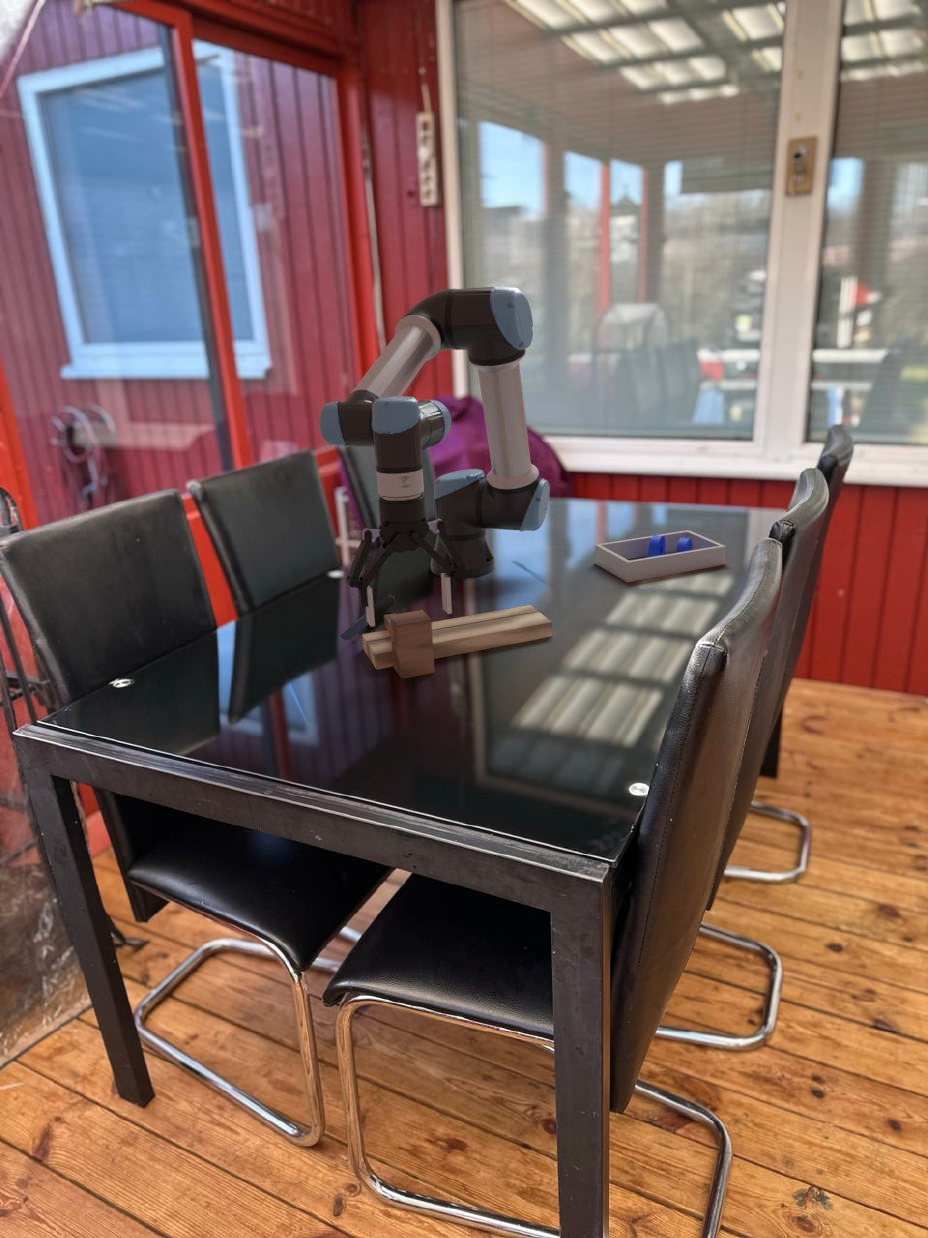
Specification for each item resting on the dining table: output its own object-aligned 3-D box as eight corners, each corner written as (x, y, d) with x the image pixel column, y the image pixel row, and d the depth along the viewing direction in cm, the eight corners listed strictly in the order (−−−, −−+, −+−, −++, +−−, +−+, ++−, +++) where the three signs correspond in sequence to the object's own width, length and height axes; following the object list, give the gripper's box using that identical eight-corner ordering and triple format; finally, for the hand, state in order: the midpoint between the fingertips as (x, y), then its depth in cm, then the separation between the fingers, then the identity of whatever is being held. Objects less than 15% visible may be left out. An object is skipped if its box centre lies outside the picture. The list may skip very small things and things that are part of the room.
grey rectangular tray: (594, 563, 206) (594, 544, 204) (687, 548, 213) (688, 530, 212) (627, 582, 193) (627, 562, 191) (724, 565, 200) (726, 546, 199)
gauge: (376, 642, 168) (371, 593, 164) (406, 637, 170) (402, 588, 166) (401, 678, 152) (397, 625, 149) (434, 672, 154) (431, 619, 151)
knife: (387, 611, 184) (385, 588, 183) (397, 612, 184) (396, 589, 182) (335, 652, 163) (333, 626, 161) (347, 653, 162) (345, 627, 160)
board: (363, 649, 165) (361, 634, 164) (530, 619, 175) (530, 604, 174) (376, 669, 156) (375, 653, 155) (551, 636, 166) (551, 621, 165)
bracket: (683, 581, 199) (685, 543, 196) (647, 577, 203) (648, 539, 199) (702, 558, 214) (704, 522, 210) (668, 554, 217) (669, 519, 214)
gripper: (330, 509, 137) (342, 636, 144) (481, 491, 144) (485, 613, 152) (320, 499, 143) (333, 621, 151) (465, 482, 151) (470, 599, 158)
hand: (409, 617), depth 151 cm, fingers open, 13 cm apart
